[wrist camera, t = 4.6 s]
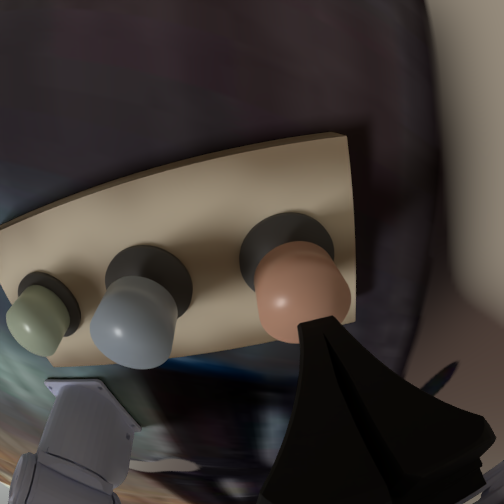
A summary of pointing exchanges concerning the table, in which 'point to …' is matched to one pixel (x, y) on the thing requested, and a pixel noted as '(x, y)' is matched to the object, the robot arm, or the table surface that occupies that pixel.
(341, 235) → the button panel
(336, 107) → the table surface
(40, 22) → the table surface
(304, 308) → the button terracotta
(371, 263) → the table surface
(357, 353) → the robot arm
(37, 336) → the button sage
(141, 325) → the button slate
